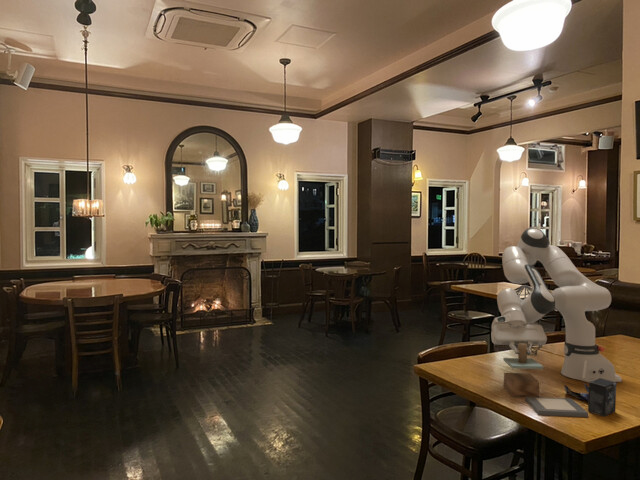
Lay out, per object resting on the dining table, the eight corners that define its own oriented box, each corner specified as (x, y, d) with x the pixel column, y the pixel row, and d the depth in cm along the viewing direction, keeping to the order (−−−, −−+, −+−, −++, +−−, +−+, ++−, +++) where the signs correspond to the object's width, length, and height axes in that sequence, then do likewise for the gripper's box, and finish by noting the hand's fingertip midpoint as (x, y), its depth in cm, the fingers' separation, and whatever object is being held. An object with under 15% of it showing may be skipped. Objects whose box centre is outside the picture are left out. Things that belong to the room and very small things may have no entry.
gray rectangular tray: (571, 402, 168) (571, 398, 168) (588, 417, 155) (588, 412, 155) (525, 400, 170) (525, 396, 170) (538, 415, 157) (538, 410, 157)
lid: (532, 360, 181) (532, 340, 181) (543, 369, 170) (543, 347, 170) (503, 360, 182) (503, 340, 182) (512, 368, 171) (512, 347, 171)
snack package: (586, 393, 179) (558, 393, 178) (589, 378, 177) (561, 378, 176) (608, 410, 167) (578, 411, 166) (611, 394, 166) (581, 394, 165)
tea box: (530, 388, 182) (530, 373, 182) (539, 397, 172) (539, 382, 172) (503, 387, 183) (503, 372, 183) (511, 396, 173) (511, 381, 173)
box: (605, 417, 155) (605, 386, 155) (587, 411, 160) (588, 381, 160) (616, 412, 159) (616, 381, 159) (598, 406, 164) (599, 377, 164)
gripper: (539, 327, 186) (548, 358, 177) (487, 327, 188) (494, 357, 179) (543, 318, 182) (553, 349, 172) (490, 318, 184) (497, 348, 174)
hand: (523, 353), depth 176 cm, fingers closed on lid, 3 cm apart
